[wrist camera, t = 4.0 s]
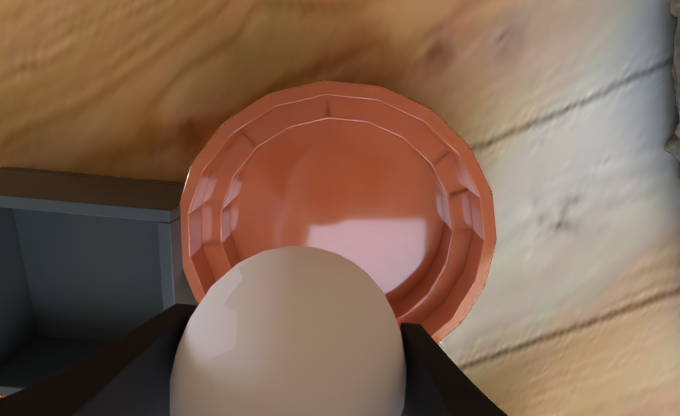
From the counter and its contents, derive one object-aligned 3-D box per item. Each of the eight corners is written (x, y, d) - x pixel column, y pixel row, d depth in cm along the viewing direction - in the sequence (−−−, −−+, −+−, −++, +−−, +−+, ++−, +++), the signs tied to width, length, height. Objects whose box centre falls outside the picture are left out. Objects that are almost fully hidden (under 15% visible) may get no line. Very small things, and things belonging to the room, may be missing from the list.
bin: (210, 350, 23) (180, 409, 19) (36, 336, 23) (-35, 392, 18) (207, 185, 20) (170, 210, 15) (2, 166, 19) (-95, 186, 15)
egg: (257, 372, 15) (173, 652, 7) (199, 240, 13) (10, 431, 6) (403, 338, 14) (472, 602, 7) (364, 194, 13) (400, 340, 5)
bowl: (442, 344, 23) (460, 387, 19) (206, 324, 22) (183, 364, 19) (497, 100, 18) (532, 101, 15) (201, 70, 18) (168, 64, 14)
